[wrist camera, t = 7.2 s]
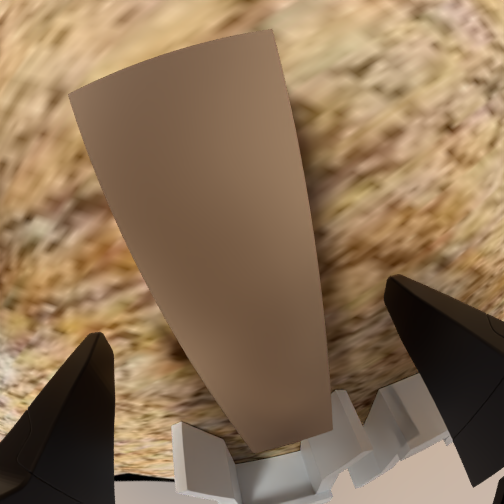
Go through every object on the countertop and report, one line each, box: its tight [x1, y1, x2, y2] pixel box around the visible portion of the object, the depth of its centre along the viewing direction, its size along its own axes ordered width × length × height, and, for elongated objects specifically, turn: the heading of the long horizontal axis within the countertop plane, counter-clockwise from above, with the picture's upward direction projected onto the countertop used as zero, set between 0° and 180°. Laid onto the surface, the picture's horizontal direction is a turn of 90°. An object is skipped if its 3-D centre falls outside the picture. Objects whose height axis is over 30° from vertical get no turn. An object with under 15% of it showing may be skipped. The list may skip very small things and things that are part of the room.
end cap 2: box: [348, 373, 453, 488], centre depth 18 cm, size 10×9×5 cm
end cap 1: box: [171, 390, 373, 504], centre depth 15 cm, size 10×9×5 cm
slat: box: [68, 29, 333, 454], centre depth 9 cm, size 4×14×4 cm, turn 13°
